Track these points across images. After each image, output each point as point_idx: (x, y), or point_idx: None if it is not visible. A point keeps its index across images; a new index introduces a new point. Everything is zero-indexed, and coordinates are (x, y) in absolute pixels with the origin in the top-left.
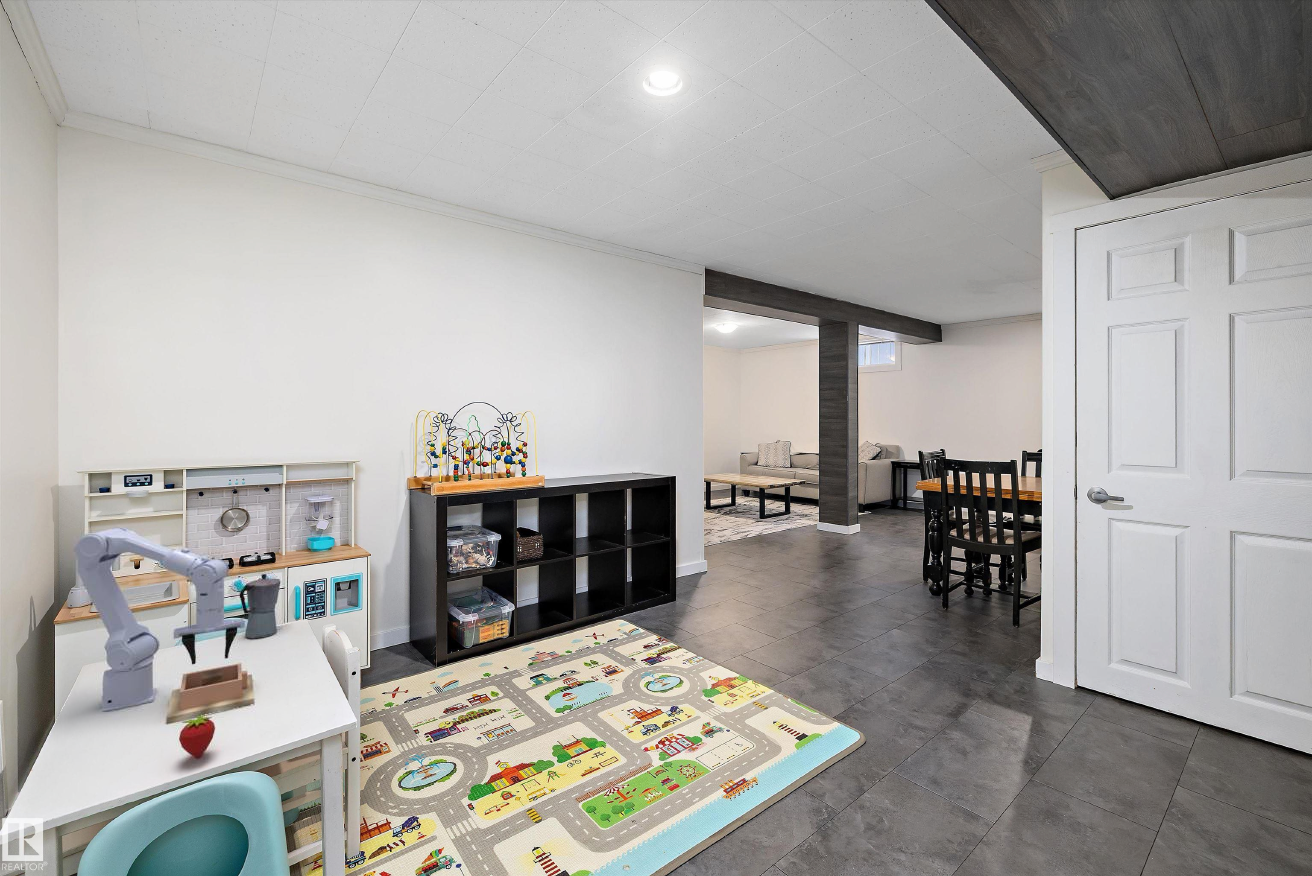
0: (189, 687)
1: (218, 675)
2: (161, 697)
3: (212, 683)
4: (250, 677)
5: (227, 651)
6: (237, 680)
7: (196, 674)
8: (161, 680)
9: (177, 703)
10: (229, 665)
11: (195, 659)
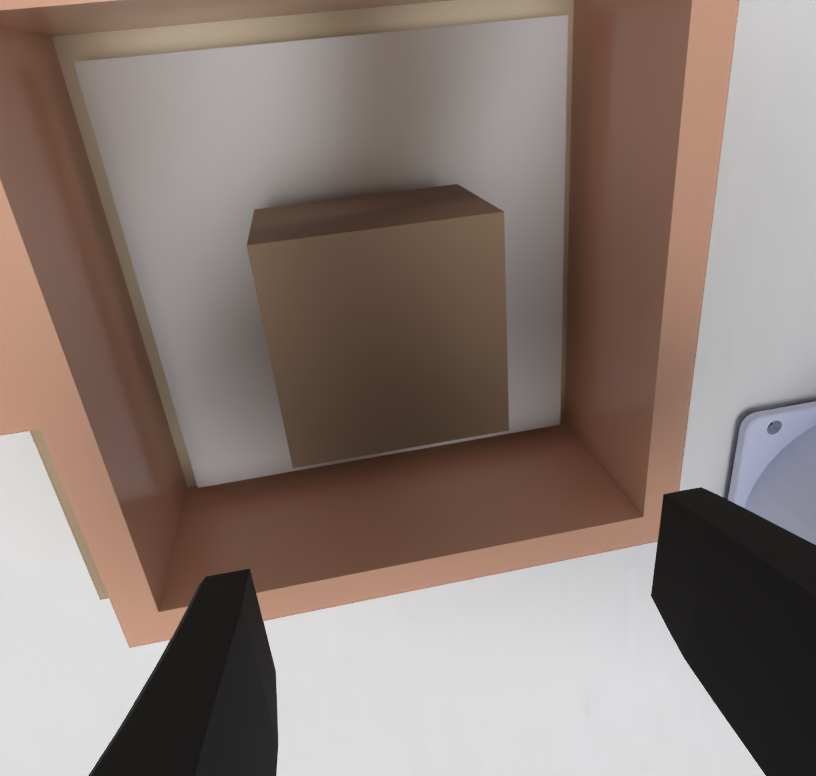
0: (560, 441)
1: (296, 247)
2: (690, 468)
3: (361, 207)
4: None
5: (178, 669)
6: None
7: (552, 519)
8: (677, 706)
9: None
10: None
11: (694, 565)
